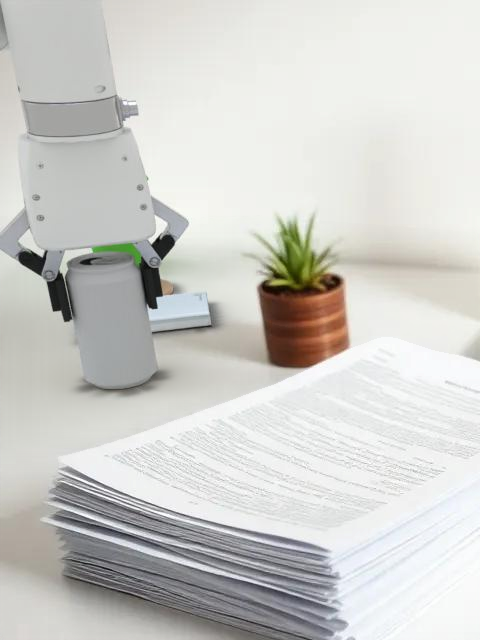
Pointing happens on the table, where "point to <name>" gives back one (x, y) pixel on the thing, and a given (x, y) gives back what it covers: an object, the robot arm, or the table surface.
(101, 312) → the beverage can
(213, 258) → the table surface
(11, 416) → the table surface
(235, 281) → the table surface
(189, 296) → the hard drive
